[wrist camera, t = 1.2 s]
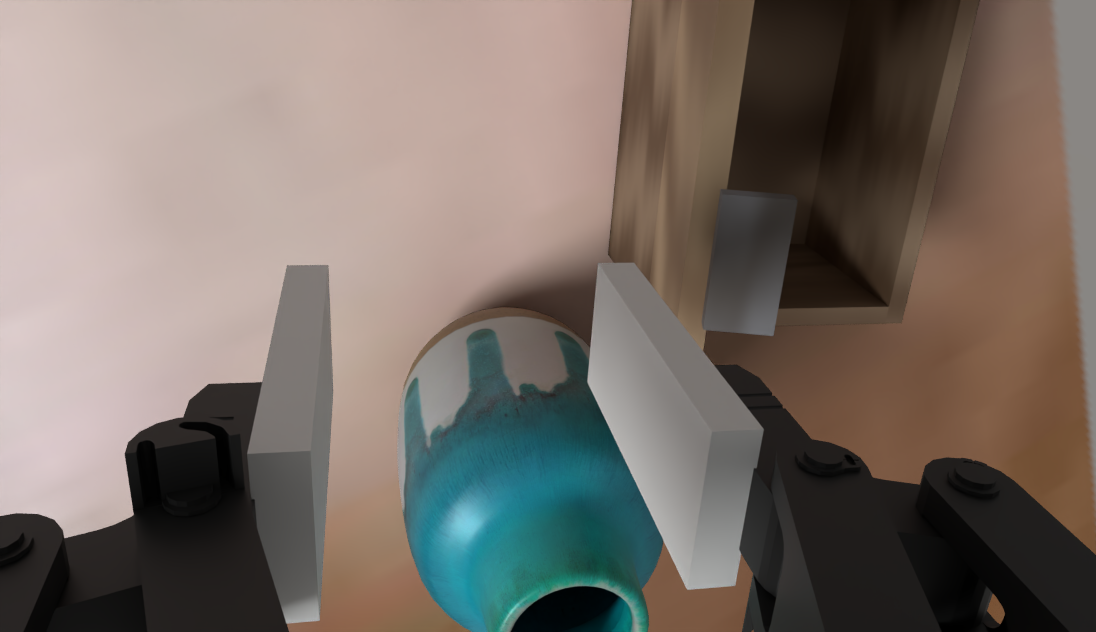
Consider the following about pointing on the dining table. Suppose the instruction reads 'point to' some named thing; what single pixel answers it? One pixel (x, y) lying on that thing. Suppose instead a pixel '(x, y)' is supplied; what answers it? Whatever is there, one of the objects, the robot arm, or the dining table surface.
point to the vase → (520, 482)
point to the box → (813, 140)
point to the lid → (715, 189)
